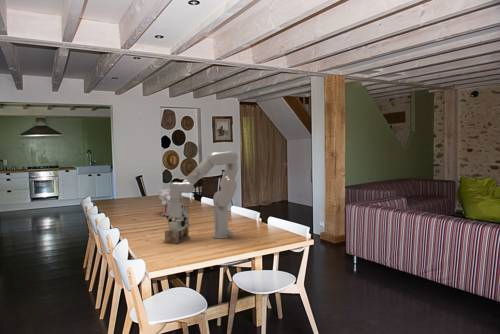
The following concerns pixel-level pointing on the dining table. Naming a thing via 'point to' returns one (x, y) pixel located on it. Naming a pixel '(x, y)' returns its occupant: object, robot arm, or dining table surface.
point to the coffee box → (184, 216)
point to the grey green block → (175, 226)
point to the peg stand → (176, 236)
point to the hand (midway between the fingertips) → (176, 226)
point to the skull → (165, 199)
